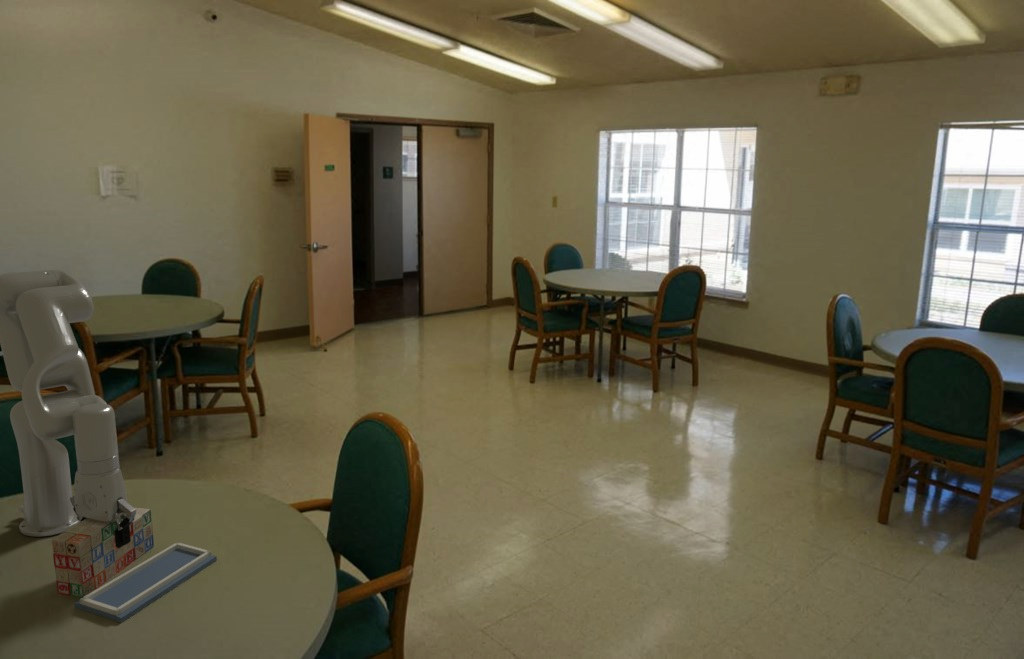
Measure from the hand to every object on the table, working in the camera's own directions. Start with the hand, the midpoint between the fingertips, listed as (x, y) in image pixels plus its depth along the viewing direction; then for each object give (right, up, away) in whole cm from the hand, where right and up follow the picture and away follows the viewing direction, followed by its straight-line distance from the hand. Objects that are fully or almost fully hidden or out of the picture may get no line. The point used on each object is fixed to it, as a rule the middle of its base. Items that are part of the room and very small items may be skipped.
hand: (106, 540), depth 156 cm
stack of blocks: (-1, -7, +2) cm, 7 cm away
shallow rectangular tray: (+10, -8, -2) cm, 13 cm away
